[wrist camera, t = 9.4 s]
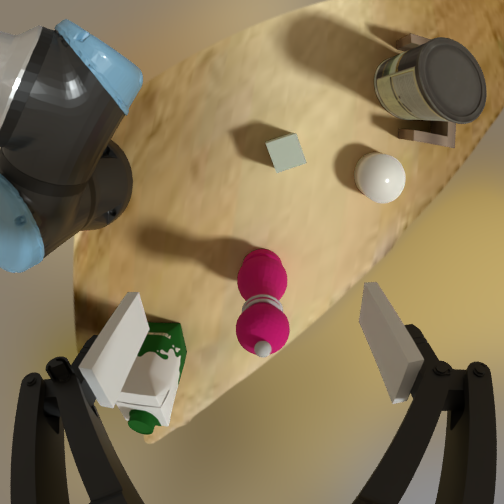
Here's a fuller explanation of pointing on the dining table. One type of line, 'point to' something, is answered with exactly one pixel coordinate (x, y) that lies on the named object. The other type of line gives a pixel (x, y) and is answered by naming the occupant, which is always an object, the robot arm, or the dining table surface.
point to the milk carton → (154, 378)
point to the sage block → (285, 152)
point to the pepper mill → (262, 303)
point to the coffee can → (432, 83)
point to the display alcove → (440, 130)
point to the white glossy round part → (379, 177)
